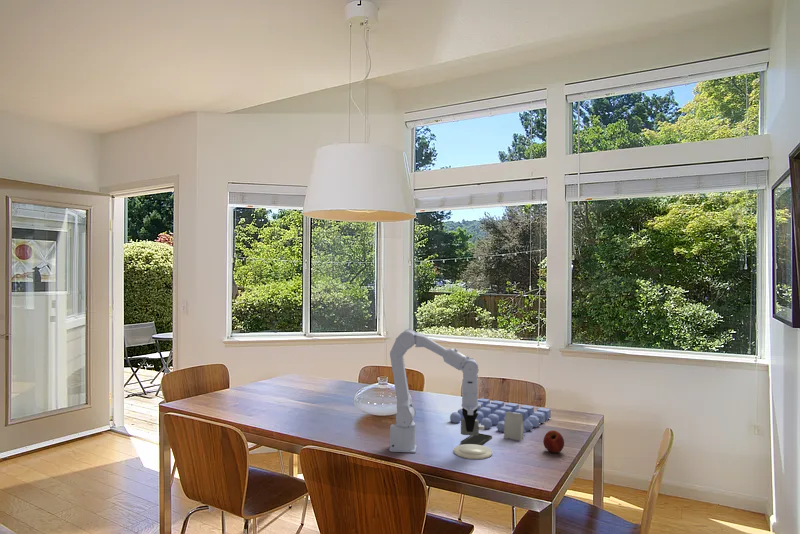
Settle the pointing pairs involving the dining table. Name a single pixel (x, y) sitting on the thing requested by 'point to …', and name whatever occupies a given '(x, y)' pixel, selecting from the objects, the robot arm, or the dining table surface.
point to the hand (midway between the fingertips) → (469, 429)
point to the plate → (473, 451)
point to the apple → (553, 441)
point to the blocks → (497, 412)
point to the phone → (477, 439)
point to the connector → (475, 430)
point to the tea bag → (513, 426)
